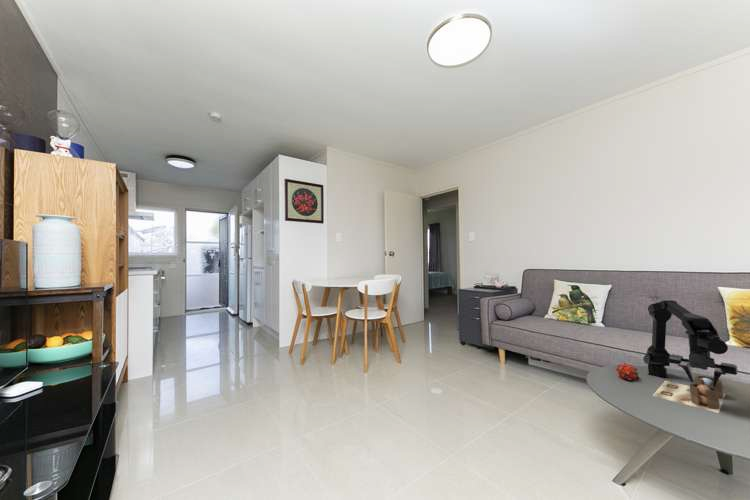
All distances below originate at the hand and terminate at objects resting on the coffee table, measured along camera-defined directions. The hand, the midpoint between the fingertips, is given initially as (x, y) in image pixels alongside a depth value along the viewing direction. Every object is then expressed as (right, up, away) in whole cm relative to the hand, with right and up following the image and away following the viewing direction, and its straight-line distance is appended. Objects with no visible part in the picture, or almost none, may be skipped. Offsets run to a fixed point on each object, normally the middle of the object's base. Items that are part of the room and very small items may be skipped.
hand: (703, 384), depth 117 cm
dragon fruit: (-7, -11, +27) cm, 30 cm away
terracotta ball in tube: (0, -8, -1) cm, 8 cm away
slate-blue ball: (+13, -3, +7) cm, 15 cm away
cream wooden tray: (+3, -9, +8) cm, 13 cm away
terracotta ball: (0, -4, 0) cm, 4 cm away
